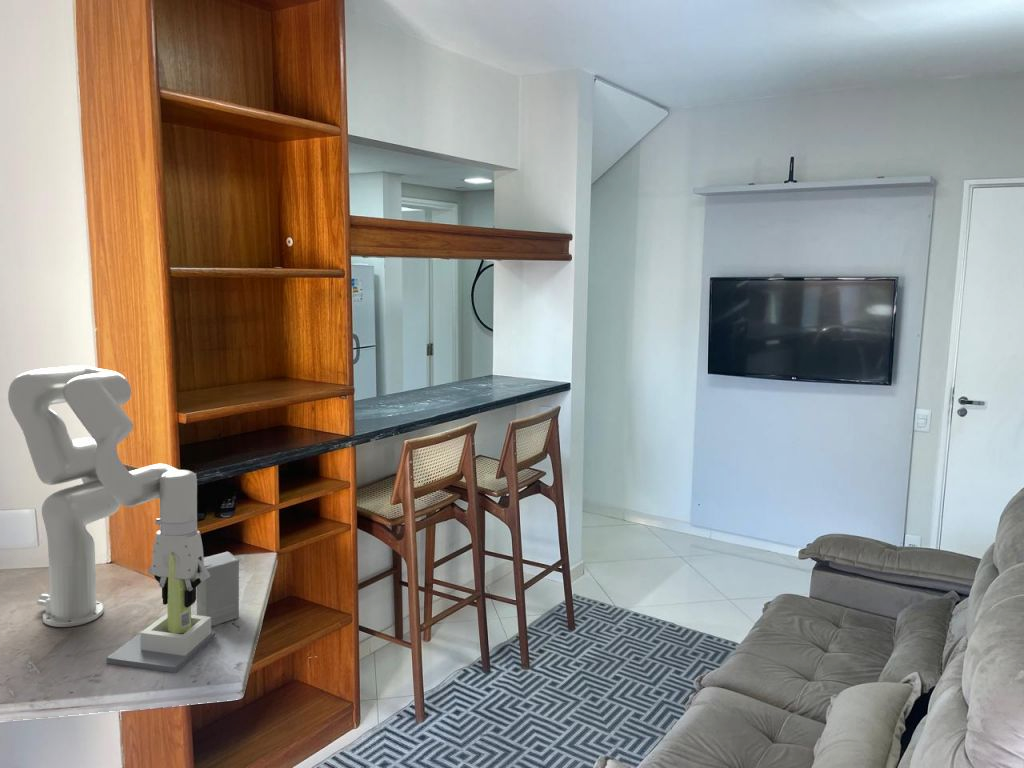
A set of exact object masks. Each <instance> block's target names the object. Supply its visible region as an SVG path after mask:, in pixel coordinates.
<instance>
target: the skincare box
mask: <svg viewBox="0 0 1024 768" xmlns="http://www.w3.org/2000/svg"><path fill="white" fill-rule="evenodd" d="M203 557H204V566H205V567H206V569H207V570H208V572H209V573H210V577H209V578H207V579H206V580H204V581H203V582H201V583H200V584H199V585H198V586H197V587H196V615H199V616H207V617H211V627H214V626H216V625H217V626H218V625H220V624H222V623H226V622H229V621H232V620H235V619H238V618H239V617H240V602H239V601H240V595H239V593H240V590H239V588H240V587H239V586H240V585H239V583H240V580H239V579H240V576H239V575H240V573H239V572H240V571H239V570H240V560H239V559H238V558H237V557H235V556H234V555H233V553H231V552H229V551H225V552H221V553H217V554H212V555H210V556H203ZM199 577H200V573H197V578H199Z"/></svg>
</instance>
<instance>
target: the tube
mask: <svg viewBox="0 0 1024 768" xmlns="http://www.w3.org/2000/svg"><path fill="white" fill-rule="evenodd" d="M186 590H187V586H186V582H185V580H183V579H176V578H175V560H174V557H173V555H172V552H171V553H170V558H169V578H168V604H167V612H168V632H170V633H175V634H179V633H183V632H186V631H188V630H189V629H190V628H191V614H192V605H191V606H189V607H188V608H187V607H185V591H186Z"/></svg>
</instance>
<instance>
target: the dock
mask: <svg viewBox="0 0 1024 768" xmlns="http://www.w3.org/2000/svg"><path fill="white" fill-rule="evenodd" d="M216 634H217V632H216V631H212V626H211V617H207V616H199V615H197V614H192V613H191V628H190V629H189V630H188V631H186V632H183V633H179V634H175V633H170V632H168V611H166V613H164V614H163V615H162V616H160V618H158V619H157V620H156V621H154V622H153V623H151V624H149V625H148V626H147V627H145V628H144V629H142V630H141V631H139V632H138V633H137V634H136V635H135V636H134V637H132V638H130V639H129V640H128V641H127V642H125V643H124V644H123V645H121V646H120V647H119V648H118V649H116V650H114V651H113V652H112V653H111V654H110V655H108V656H107V657H106V658H105V659H106V660H105V661H106V662H105V663H106V664H112V665H117V666H118V665H119V666H127V667H133V668H140V669H146V670H147V669H148V670H153V671H161V672H167V673H168V672H169V673H174V674H176V673H178V672H179V671H180V669H181V668H183V667H184V666H185V665H186V664H187V663H188V662H190V661H191V660H192V659H193V658H194V657H195V656H196V655H197V654H198V653H200V652H201V651H202V650H203V649H204V648H205V647H206V646H208V644H210V643H211V641H213V640H214V639H215V638H216V637H217V635H216Z"/></svg>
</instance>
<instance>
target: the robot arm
mask: <svg viewBox="0 0 1024 768" xmlns="http://www.w3.org/2000/svg"><path fill="white" fill-rule="evenodd" d="M131 397H132V387H131V385H130V383H129V381H128V379H127V378H126V377H125V376H124V375H123V374H121V373H119V372H117V371H114V370H109V369H104V368H98V367H94V366H88V365H81V364H80V365H68V366H67V365H66V366H59V367H47V368H38V369H33V370H29V371H26V372H23V373H21V374H19V375H17V376H16V377H14V379H13V380H12V381H11V383H10V384H9V388H8V392H7V401H8V405H9V408H10V411H11V413H12V415H13V417H14V419H15V420H16V422H17V423H18V425H19V427H20V429H21V431H22V434H23V436H24V438H25V443H26V446H27V448H28V451H29V454H30V458H31V461H32V463H33V466H34V469H35V471H36V474H37V477H38V478H39V480H40V481H41V482H42V483H43V484H45V485H48V486H54V485H62V484H66V483H70V482H72V481H76V480H79V479H81V481H82V483H81V484H77V485H73V486H70V487H65V488H63V489H62V488H61V489H59V490H58V491H55V492H53V493H52V494H50V495H48V497H46V499H45V500H44V501H43V503H42V506H41V515H42V516H41V517H42V520H43V525H44V528H45V531H46V538H47V552H48V553H47V555H48V556H47V557H48V578H49V579H48V582H49V583H48V584H49V593H44V592H43V593H41V594H40V596H39V599H38V600H37V602H36V604H37V606H40V607H45V611H44V612H43V614H42V621H43V623H44V624H45V625H47V626H50V627H53V628H54V627H56V628H68V627H69V628H70V627H75V626H81V625H84V624H88V623H90V622H92V621H95V620H96V619H98V618H99V617H100V616H101V615H103V613H104V608H105V607H104V604H103V603H102V602H100V601H99V600H97V583H96V581H97V579H96V575H97V574H96V573H97V572H96V546H95V545H96V544H95V540H94V538H93V536H92V535H91V533H90V532H89V531H88V529H87V528H86V526H87V525H89V524H91V523H94V522H97V521H99V520H103V519H104V518H108V517H110V516H112V515H114V514H115V513H117V512H118V511H119V509H120V507H121V505H122V506H124V507H135V506H138V505H141V504H145V503H147V502H151V501H153V500H157V499H159V518H156V519H155V521H154V522H155V525H157V526H159V530H158V531H156V533H155V537H154V541H153V548H152V558H151V559H152V561H151V564H150V566H149V567H148V569H147V572H148V573H149V574H150V575H152V576H153V577H154V579H155V580H156V581H157V583H159V584H158V585H159V587H160V588H161V599H162V605H165V606H166V605H168V578H169V558H170V553H171V552H172V555H173V557H174V560H175V578H176V579H183V580H185V582H186V586H187V590H186V591H185V607H187V608H188V607H189V606H191V607H192V605H194V604H195V603H196V602H197V586H198V585H199V584H200V583H201V582H203V581H204V580H206V579H207V578H209V577H210V573H209V572H208V570H207V569H206V567H205V566H204V557H205V556H204V546H203V541H202V536H201V532H200V530H198V478H197V477H198V476H197V475H196V473H195V472H193V471H191V470H189V469H178V468H177V467H174V466H171V465H169V464H167V463H155V464H150V465H147V466H143V467H140V468H137V469H133V470H128V469H127V467H126V466H125V465H124V464H123V462H122V460H121V458H120V457H119V454H118V445H119V444H120V443H121V442H122V441H124V440H125V439H126V438H128V436H129V435H130V434H131V432H132V430H134V429H133V428H134V424H133V421H132V420H131V418H130V417H129V415H127V413H126V412H125V410H124V408H122V406H124V405H125V404H127V403H128V402H129V400H130V399H131ZM64 403H66V404H67V405H68V406H69V408H70V410H72V411H73V413H74V415H75V416H76V418H77V419H79V420H78V421H80V423H81V424H82V426H83V427H84V428H85V430H86V431H87V433H88V434H89V435H90V436H91V437H80V438H75V439H72V438H71V436H70V434H69V433H68V430H67V426H66V423H65V421H64V420H63V419H62V418H61V417H60V416H59V415H58V413H56V412H55V411H54V410H52V409H51V408H50V406H51V405H57V404H64ZM197 573H200V577H199V578H197Z"/></svg>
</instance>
